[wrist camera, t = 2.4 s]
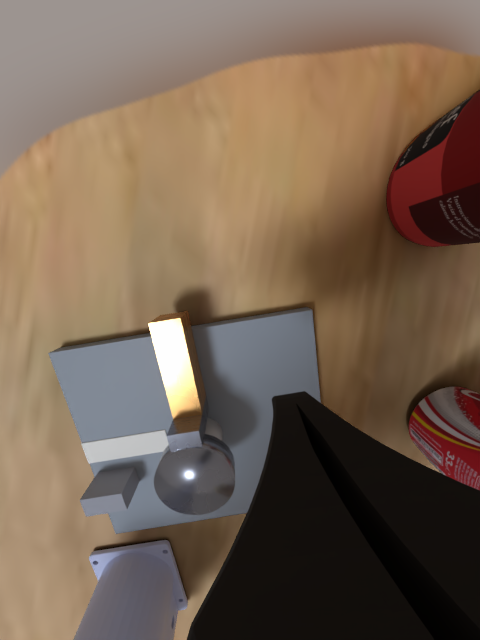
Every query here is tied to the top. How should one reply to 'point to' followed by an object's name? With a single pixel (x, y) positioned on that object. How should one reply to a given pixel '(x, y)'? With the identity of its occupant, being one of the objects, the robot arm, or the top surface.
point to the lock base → (155, 414)
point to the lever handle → (188, 427)
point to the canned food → (440, 181)
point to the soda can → (450, 433)
